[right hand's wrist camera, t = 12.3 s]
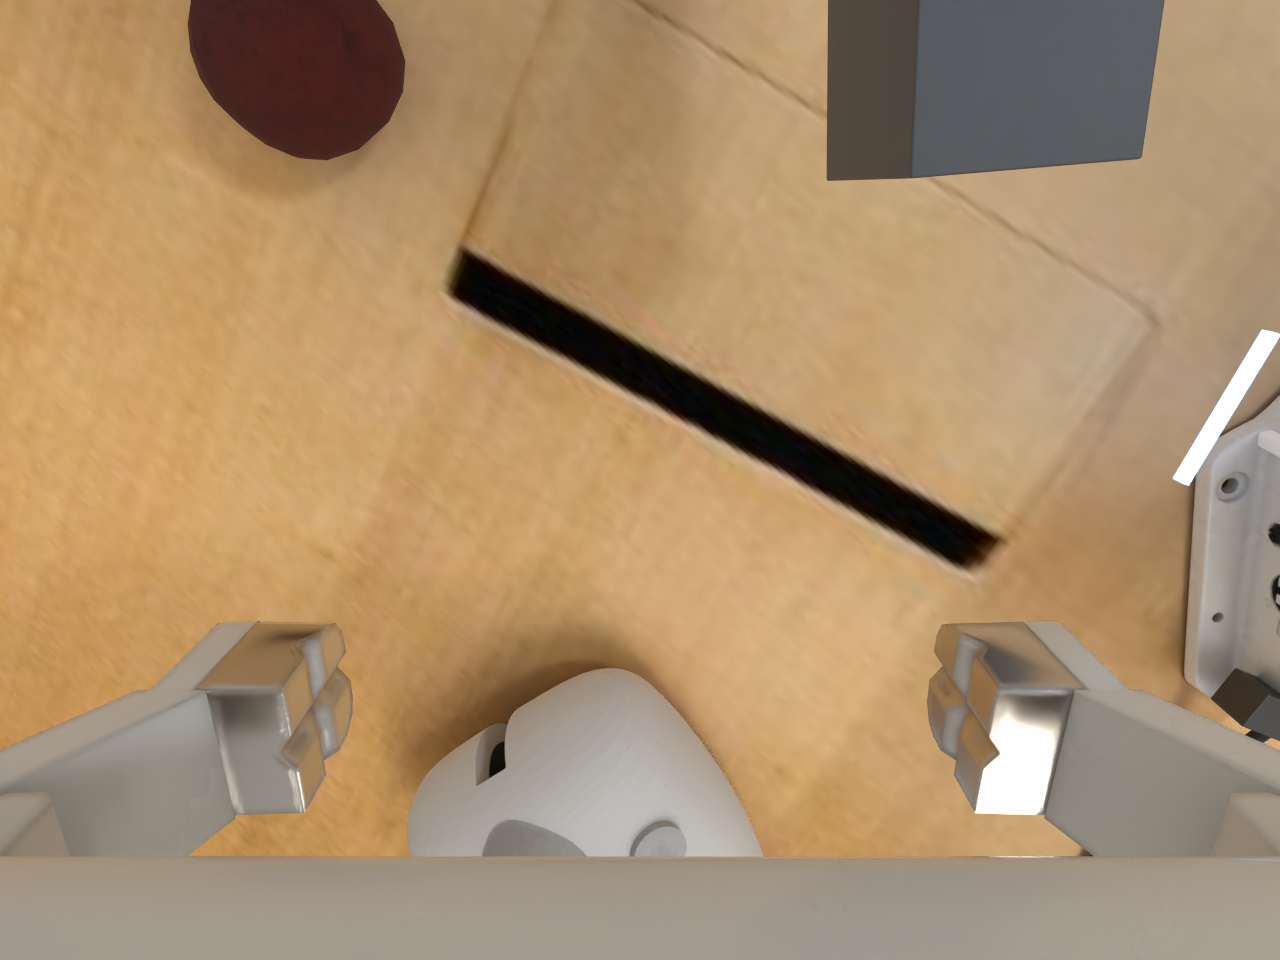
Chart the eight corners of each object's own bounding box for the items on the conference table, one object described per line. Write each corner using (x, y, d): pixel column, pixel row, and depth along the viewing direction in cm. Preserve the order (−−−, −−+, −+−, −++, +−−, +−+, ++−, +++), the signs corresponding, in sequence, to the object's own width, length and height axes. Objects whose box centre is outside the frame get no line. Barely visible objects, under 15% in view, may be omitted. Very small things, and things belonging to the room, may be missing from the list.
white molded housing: (427, 916, 51) (348, 1182, 37) (433, 619, 43) (336, 815, 29) (754, 943, 52) (795, 1212, 38) (818, 656, 44) (900, 864, 30)
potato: (231, -23, 32) (125, -81, 26) (413, -27, 32) (354, -86, 25) (264, 165, 35) (175, 156, 28) (433, 161, 35) (384, 152, 28)
